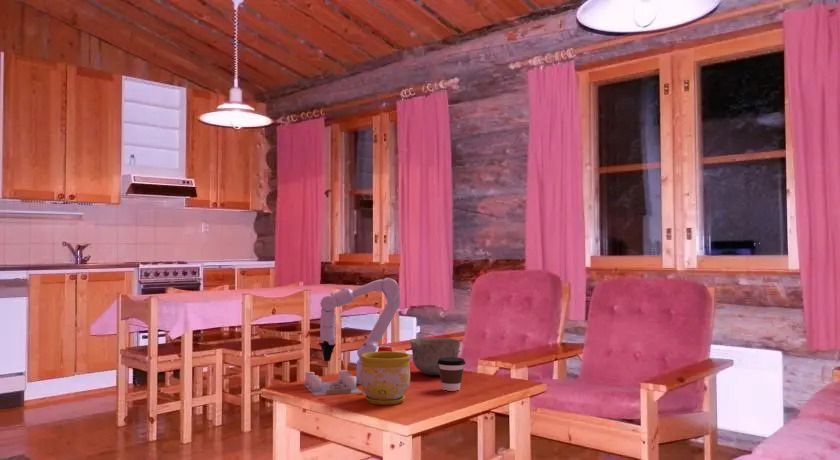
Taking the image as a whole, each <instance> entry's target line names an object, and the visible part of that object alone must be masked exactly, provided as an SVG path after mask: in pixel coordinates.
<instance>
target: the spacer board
mask: <svg viewBox="0 0 840 460" xmlns="http://www.w3.org/2000/svg"><path fill="white" fill-rule="evenodd" d="M304 376H305V377H304V379H305V380H304V383H303V386H305V388H306V389H307V390H309V392H310V393H311V394H313V396H323V395H324V396H325V395H326V396H331V395H332V396H333V395H346V394H354V393H355V394H356V393H359V394H357V396H360V395H361V396H362V395H363V393H362V392H363V391H362V390H360V389H359V388H357V375H356V376H355V375H353V373H350V372H349V370H346V369H344V370H343V369H341V370H340V369H339V370H338V381H328V382H327V381H326V382H325V381H324V382H322V380H323V379H322V378H321V377H319V375H315V372H314V371H307V372H305V374H304ZM331 384H343V385H344V389H334V390H330V385H331Z"/></svg>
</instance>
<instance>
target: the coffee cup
mask: <svg viewBox="0 0 840 460" xmlns="http://www.w3.org/2000/svg"><path fill="white" fill-rule="evenodd" d="M437 363H438V364H439V367H440V368H439V371H440V375H439V378H440V382H441V388H442V390H443V391H444V390H449V391H452V390H459V391H460V389H461V383H462V381H463V374H464V370H465V369H464V365H466V361H465V359H464V358H462V357H458V356H457V357H444V358H439V359H438V361H437Z"/></svg>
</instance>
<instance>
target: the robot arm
mask: <svg viewBox="0 0 840 460" xmlns="http://www.w3.org/2000/svg"><path fill="white" fill-rule="evenodd" d="M372 292H380V293H383V294H384V297H385V300H386V305H385V306H384V309H383V310H382V312H381V313H380V315H379V317H378V319H377V321H376V322H375V324H374V326H373V327H372V329H371V331H370V332H369V333H370V334H369V335H368V337H367V338H366V339H365V341H364V342H363V344H361V345H360V346H359V347H358V349H357V351H356V352H357V356H358V360H357V361H356V385H361V368H362V364H361V363H362V359H361V355H362V354H364V353H368V352H377V350H378V348H379V343H380V342H381V340H382V338H383V336H384V334H385V332H386V331H387V329H388V327H389V326H390V324H391V322H392V321H393V319H394V316H395V314H396V312H397V311H398V309H399V308H400V304H401V294H400V286H399V283H398V282H397V281H396V280H395V279H394V278H391V277H385V278H383V279H382V278H381V279H377V280H373V281H370V282H369V283H365V284H363V285H361V286H359V287H356V288H353V289H350V288H348V287H347V288H345V287H343V288H341V290H340V291H336V292H334V293H333V292H331V293H330V295H325V296H323V297H322V299H321V300H320V307H321V309H320V313H321V314H320V324H319V325H320V327H319V329H320V332H319V333H320V334H319V335H320V336H319V337H317V338H316V339H317V340H318V341H323V342H319V346H320V348H321V351H322V357H323V361H324V362H330V361H331V360H332V359H331V358H332V355H333V351H334V349H335V346H336V343H335V340H336V336H335V335H336V331H335V330H336V314H335V309H336V307H337V308H339V307H342V306H344V305H348V304H350V303H353V302H354V300H355V298H356V297H360V296H362V295H363V296H364V295H365V294H368V293H372Z"/></svg>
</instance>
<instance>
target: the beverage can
mask: <svg viewBox="0 0 840 460" xmlns="http://www.w3.org/2000/svg"><path fill="white" fill-rule="evenodd" d="M380 351H390V352H393V349H392V346H391V345H385V344H384V345H378V347H377V352H380Z"/></svg>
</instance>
